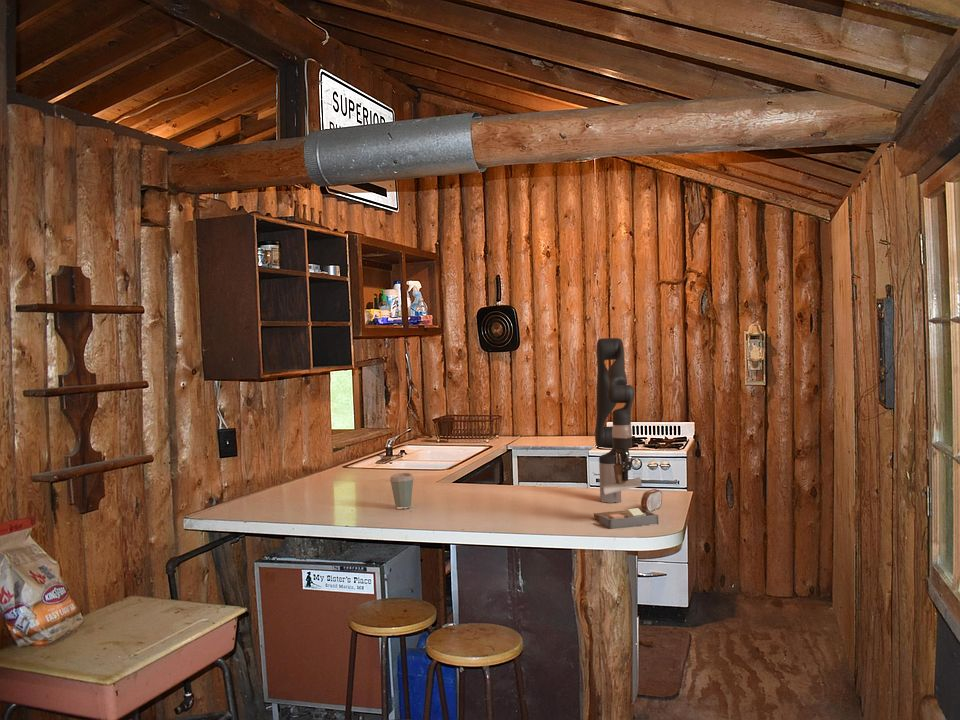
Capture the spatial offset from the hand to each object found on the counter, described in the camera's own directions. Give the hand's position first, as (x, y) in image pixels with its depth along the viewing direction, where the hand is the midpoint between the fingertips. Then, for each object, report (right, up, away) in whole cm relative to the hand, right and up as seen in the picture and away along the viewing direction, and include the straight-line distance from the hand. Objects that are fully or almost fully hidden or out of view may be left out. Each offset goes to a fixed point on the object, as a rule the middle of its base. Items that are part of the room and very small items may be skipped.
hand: (623, 479), depth 300 cm
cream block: (+5, -15, 0) cm, 16 cm away
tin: (+16, -16, +20) cm, 30 cm away
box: (+2, -17, -4) cm, 17 cm away
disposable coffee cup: (-90, -19, +40) cm, 101 cm away
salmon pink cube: (-3, -16, -3) cm, 17 cm away
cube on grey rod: (0, -4, 0) cm, 4 cm away
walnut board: (-1, -17, +5) cm, 17 cm away
